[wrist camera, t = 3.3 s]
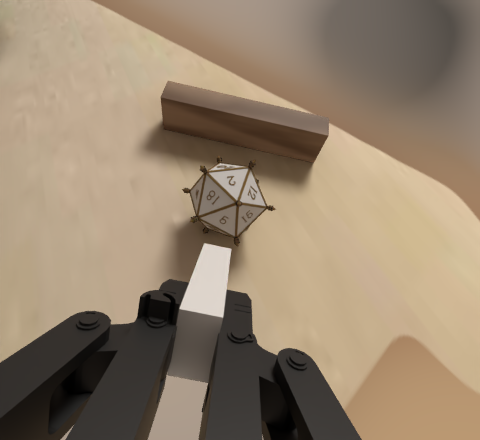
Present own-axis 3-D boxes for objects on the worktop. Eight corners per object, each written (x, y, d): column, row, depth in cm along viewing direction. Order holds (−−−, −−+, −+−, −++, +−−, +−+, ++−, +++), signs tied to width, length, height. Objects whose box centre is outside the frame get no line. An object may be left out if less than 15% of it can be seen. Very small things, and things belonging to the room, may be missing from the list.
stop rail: (170, 113, 41) (167, 80, 37) (314, 145, 42) (328, 117, 38) (163, 129, 40) (160, 97, 35) (313, 162, 41) (328, 135, 36)
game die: (204, 233, 38) (150, 180, 31) (254, 185, 38) (211, 123, 32) (243, 276, 31) (185, 220, 24) (302, 217, 32) (261, 147, 25)
